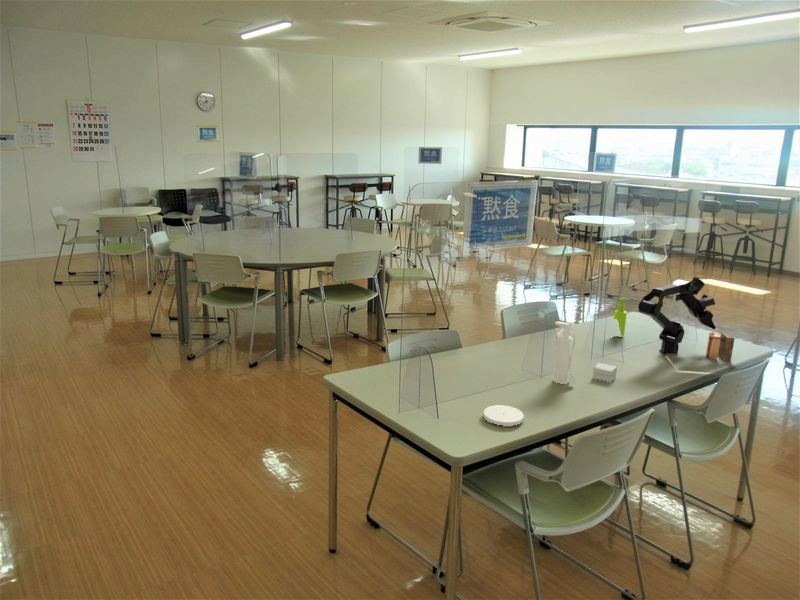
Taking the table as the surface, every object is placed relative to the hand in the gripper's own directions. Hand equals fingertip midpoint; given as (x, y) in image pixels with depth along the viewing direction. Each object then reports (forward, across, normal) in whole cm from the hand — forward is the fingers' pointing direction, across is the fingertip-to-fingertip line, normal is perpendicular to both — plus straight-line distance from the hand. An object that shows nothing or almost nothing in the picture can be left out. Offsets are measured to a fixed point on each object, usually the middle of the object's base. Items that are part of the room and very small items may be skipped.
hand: (711, 325), depth 293 cm
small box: (-28, -44, +48) cm, 71 cm away
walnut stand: (+11, -9, +8) cm, 16 cm away
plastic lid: (-57, -93, +79) cm, 135 cm away
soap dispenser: (-17, +17, +36) cm, 44 cm away
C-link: (+8, -9, +10) cm, 16 cm away
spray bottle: (-41, -53, +61) cm, 91 cm away
